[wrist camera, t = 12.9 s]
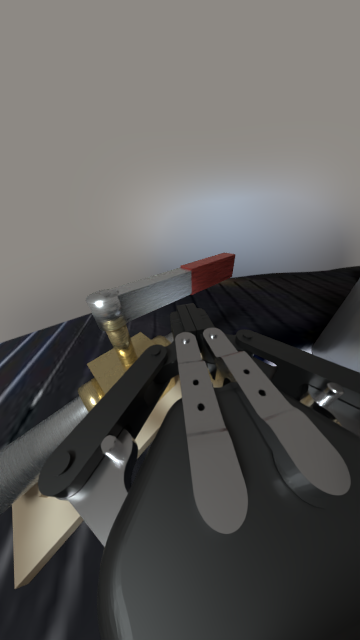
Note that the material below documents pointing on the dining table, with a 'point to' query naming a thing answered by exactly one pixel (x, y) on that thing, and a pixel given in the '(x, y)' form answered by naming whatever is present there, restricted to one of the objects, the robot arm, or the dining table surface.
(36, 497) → the mounting board
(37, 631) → the dining table surface
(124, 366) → the valve line
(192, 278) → the valve lever
